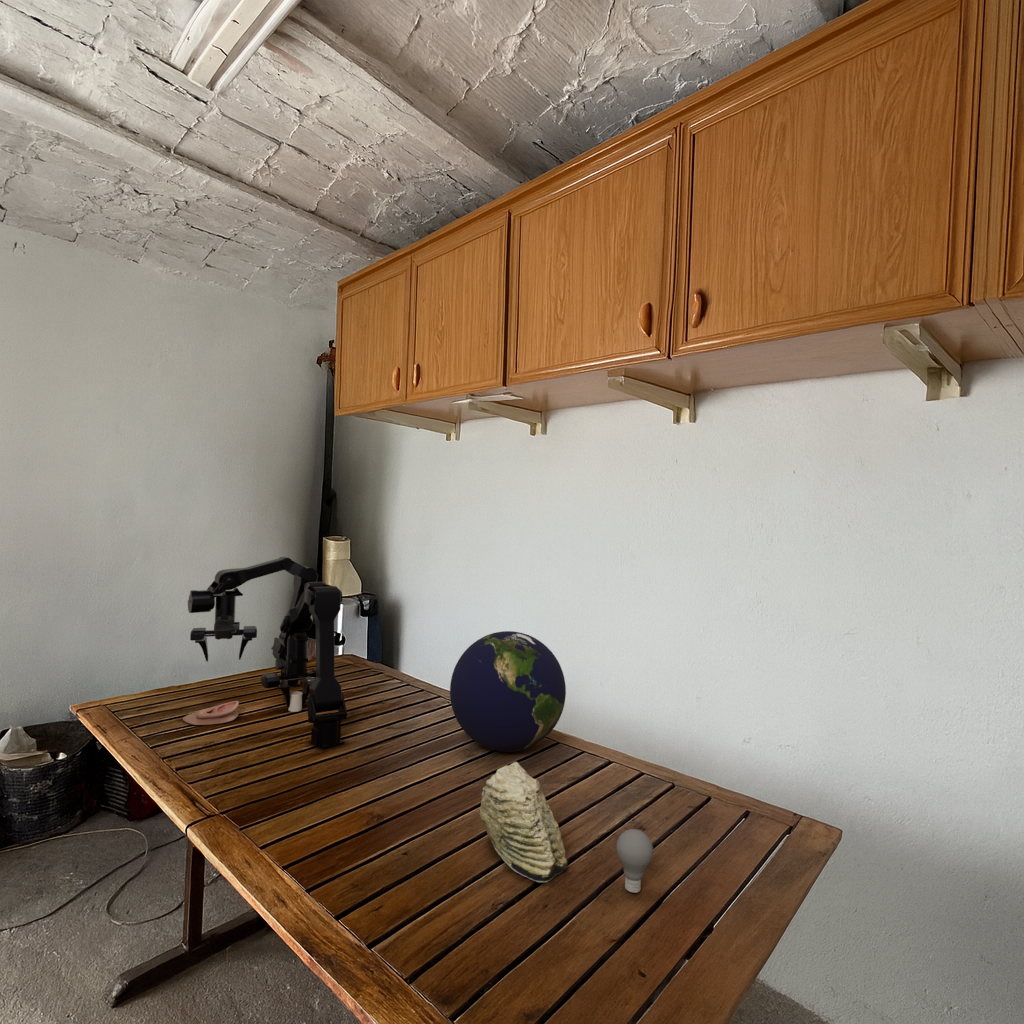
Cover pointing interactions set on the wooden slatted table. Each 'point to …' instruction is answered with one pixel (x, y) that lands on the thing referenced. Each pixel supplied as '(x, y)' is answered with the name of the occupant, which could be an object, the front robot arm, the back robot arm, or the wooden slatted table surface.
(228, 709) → the anatomical model
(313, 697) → the front robot arm
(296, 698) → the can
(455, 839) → the wooden slatted table surface
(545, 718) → the globe
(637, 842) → the light bulb
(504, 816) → the fossil
